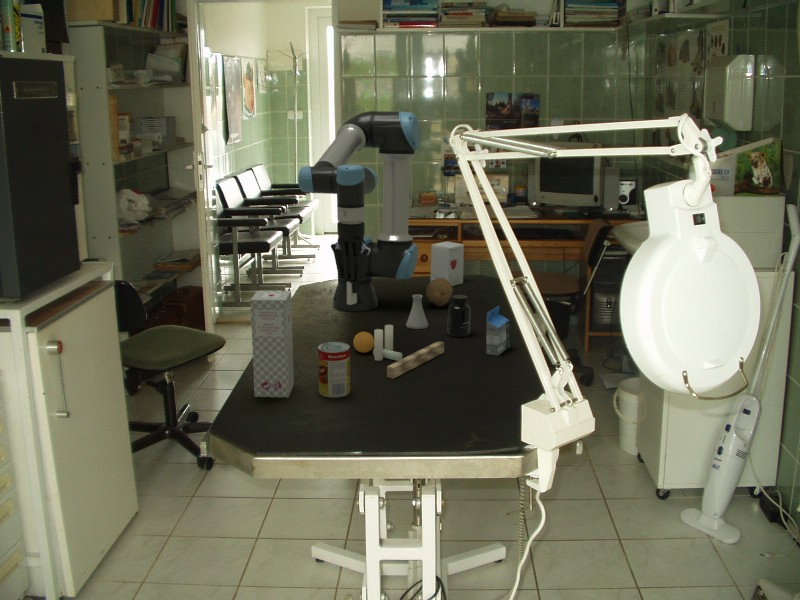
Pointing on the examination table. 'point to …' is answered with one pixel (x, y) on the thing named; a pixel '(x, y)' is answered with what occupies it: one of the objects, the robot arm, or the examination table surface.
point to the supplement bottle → (459, 317)
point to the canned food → (334, 369)
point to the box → (272, 343)
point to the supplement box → (447, 262)
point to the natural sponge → (439, 291)
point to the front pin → (391, 355)
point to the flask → (417, 314)
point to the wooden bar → (415, 359)
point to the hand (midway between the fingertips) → (351, 303)
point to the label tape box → (497, 333)
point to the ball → (363, 342)
